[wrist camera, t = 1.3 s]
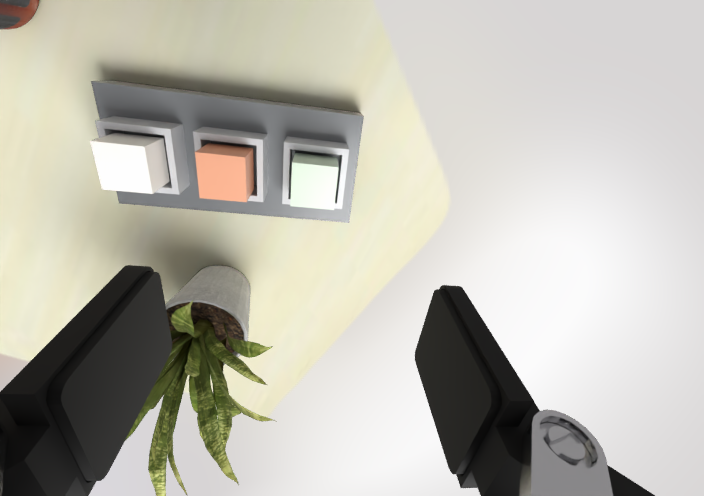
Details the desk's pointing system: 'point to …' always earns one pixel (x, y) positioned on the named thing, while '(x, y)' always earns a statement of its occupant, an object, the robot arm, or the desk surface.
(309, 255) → the desk surface
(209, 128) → the panel
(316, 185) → the button
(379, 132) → the desk surface
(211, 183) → the button
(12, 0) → the supplement bottle
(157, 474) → the house plant
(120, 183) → the button
